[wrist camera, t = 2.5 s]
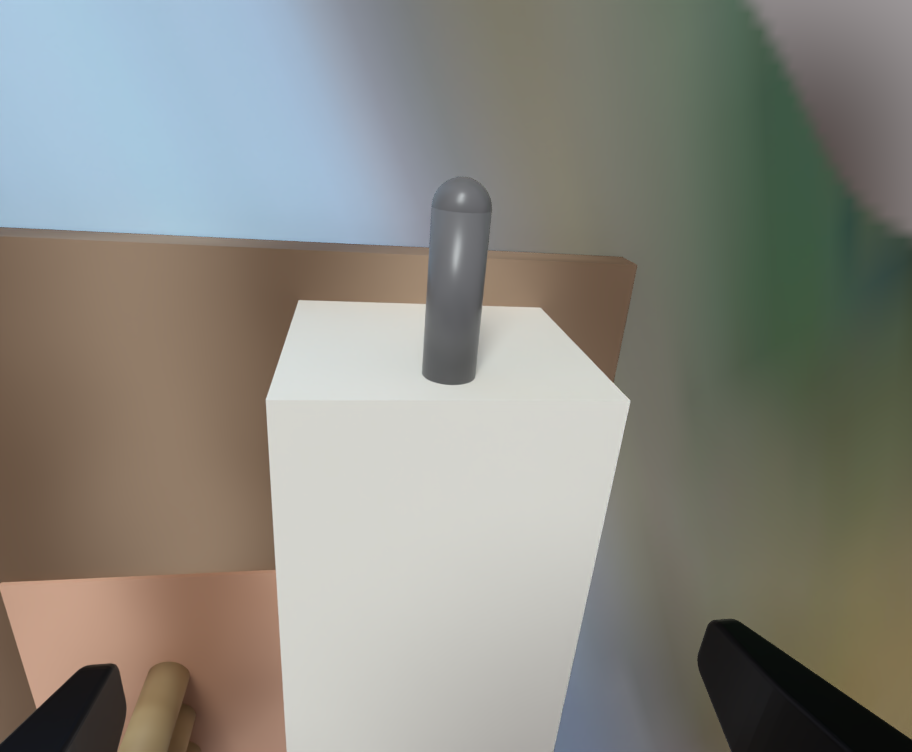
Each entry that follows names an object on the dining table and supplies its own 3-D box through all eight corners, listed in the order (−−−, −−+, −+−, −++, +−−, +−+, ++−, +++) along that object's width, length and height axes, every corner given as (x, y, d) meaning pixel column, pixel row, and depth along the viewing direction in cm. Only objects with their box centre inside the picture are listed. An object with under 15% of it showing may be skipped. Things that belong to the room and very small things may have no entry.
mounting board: (47, 824, 18) (-18, 969, 15) (-157, 219, 10) (-365, 260, 7) (523, 771, 20) (551, 885, 17) (621, 256, 13) (700, 298, 10)
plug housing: (308, 605, 15) (288, 793, 11) (294, 148, 10) (251, 168, 6) (500, 594, 15) (550, 763, 11) (560, 168, 11) (674, 197, 7)
